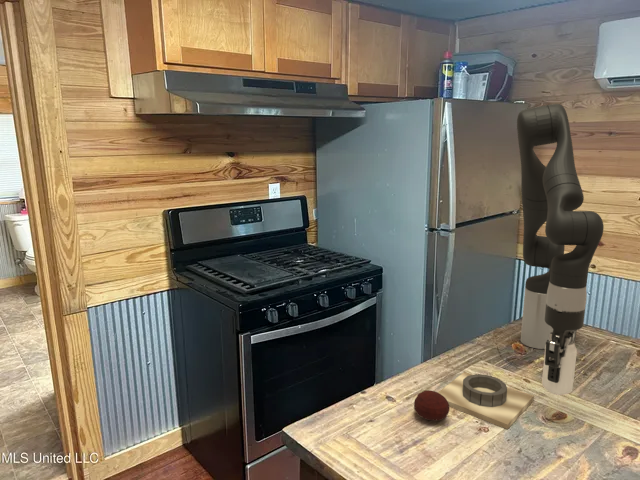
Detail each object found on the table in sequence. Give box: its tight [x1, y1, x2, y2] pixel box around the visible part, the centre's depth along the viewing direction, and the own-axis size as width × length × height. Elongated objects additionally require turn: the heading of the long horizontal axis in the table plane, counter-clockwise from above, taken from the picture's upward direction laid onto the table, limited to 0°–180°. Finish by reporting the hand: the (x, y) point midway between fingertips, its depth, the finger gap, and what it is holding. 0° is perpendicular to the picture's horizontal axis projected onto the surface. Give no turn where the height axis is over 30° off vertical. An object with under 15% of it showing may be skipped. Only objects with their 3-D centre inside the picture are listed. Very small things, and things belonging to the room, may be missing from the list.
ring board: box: [438, 371, 535, 430], centre depth 119 cm, size 16×18×4 cm
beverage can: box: [541, 339, 578, 396], centre depth 108 cm, size 6×6×12 cm
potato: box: [413, 389, 450, 421], centre depth 112 cm, size 7×8×6 cm
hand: (557, 375), depth 109 cm, fingers closed on beverage can, 6 cm apart
